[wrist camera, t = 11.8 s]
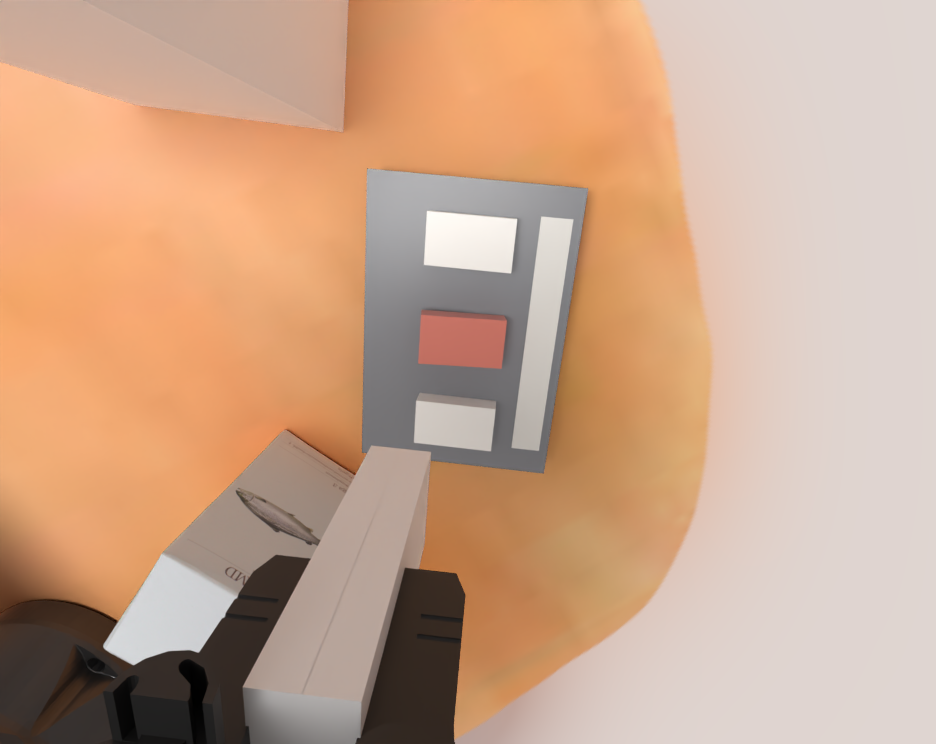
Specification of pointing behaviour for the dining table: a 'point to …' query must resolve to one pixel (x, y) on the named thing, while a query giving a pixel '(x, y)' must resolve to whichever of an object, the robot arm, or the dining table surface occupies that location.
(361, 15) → the dining table surface
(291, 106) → the milk
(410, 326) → the breaker panel
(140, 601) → the supplement box
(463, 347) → the block
